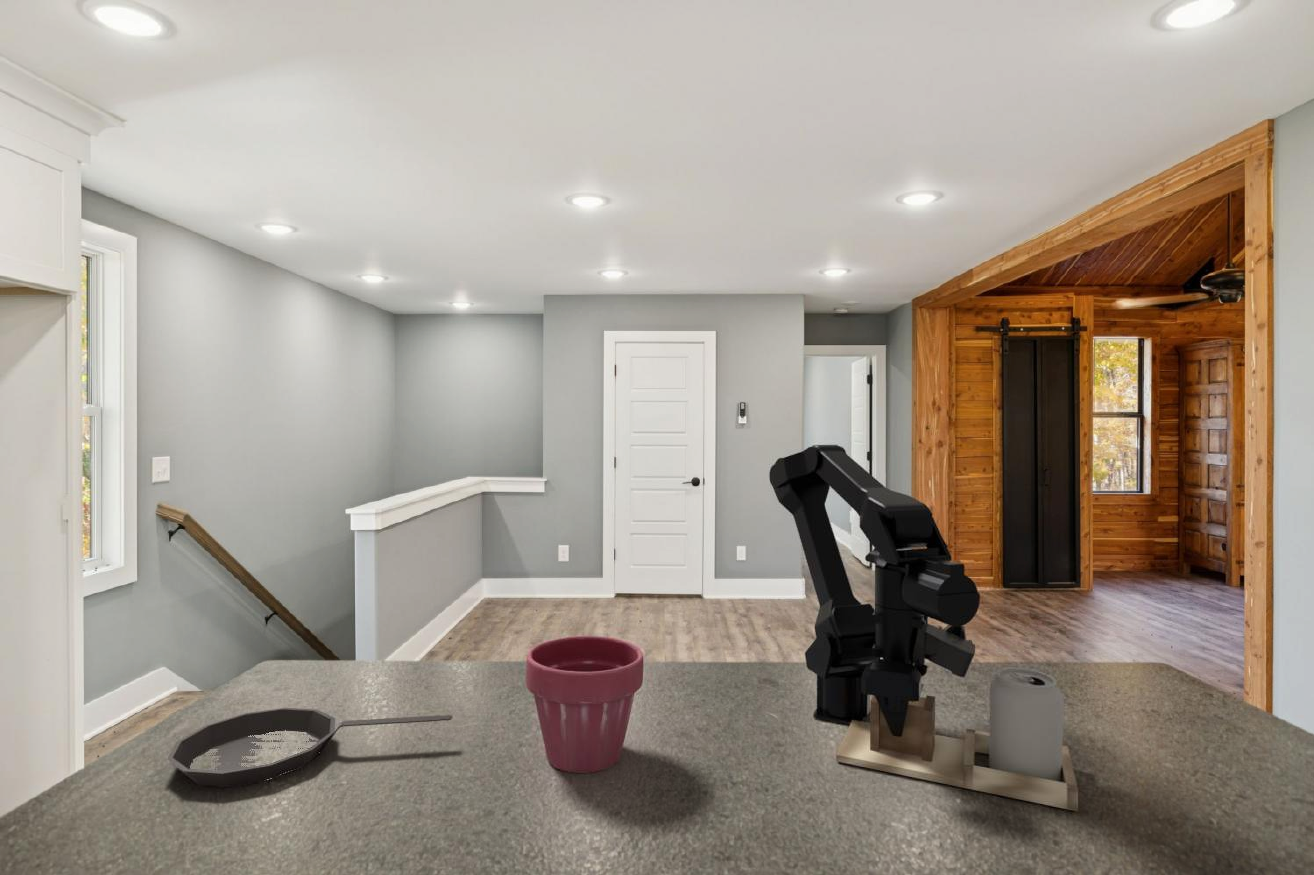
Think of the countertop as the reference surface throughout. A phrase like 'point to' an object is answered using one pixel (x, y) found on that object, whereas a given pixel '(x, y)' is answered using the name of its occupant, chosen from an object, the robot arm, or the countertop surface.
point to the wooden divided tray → (946, 757)
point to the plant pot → (584, 698)
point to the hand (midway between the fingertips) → (898, 730)
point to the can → (1026, 724)
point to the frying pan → (236, 742)
